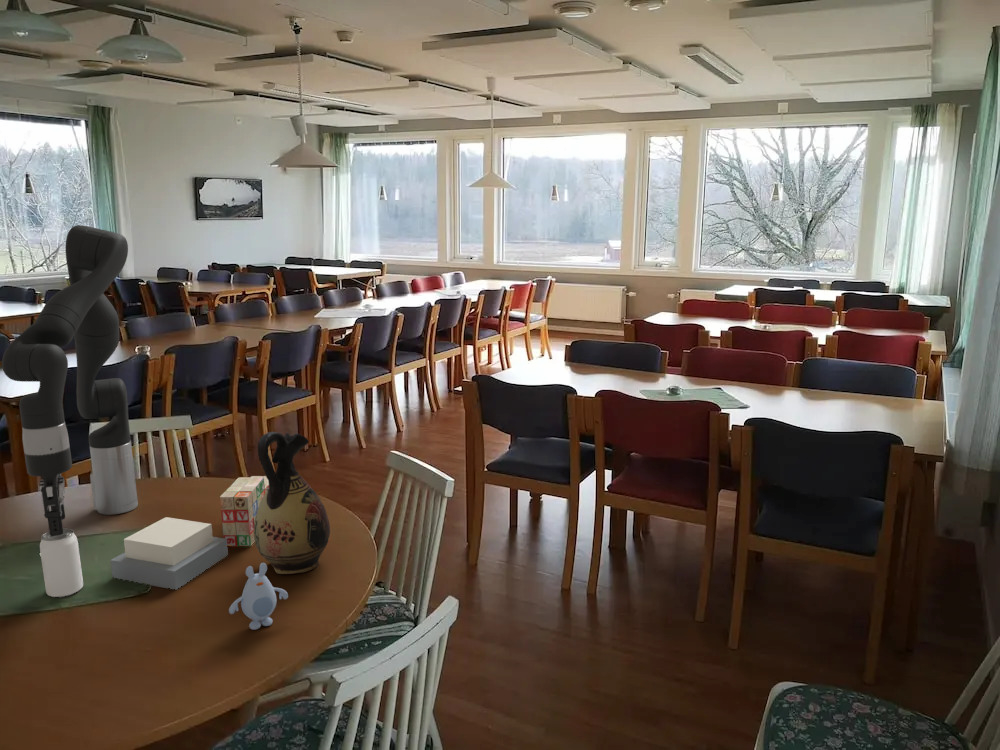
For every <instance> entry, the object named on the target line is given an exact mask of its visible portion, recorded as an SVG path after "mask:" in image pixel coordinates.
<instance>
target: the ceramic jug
mask: <svg viewBox="0 0 1000 750" xmlns="http://www.w3.org/2000/svg"><path fill="white" fill-rule="evenodd" d="M309 441H310V440H309V439H308V438H307V437H306V436H303V435H302V434H299V433H295V434H293V435H291V434H290V433H288V432H286V433H285V434H284V435H283V433H281V432H278V431H277V432H276V431H268V432H266V433H265V434H262V436H261V437H260V438H259V440H258V443H257V455H258V460H259V462H260V464H261V466H262V469H263V471H264V474H265V476H266V478H267V479H268V481H269V487H268V489H267V490H266V493H265V495H264V496H263V498H262V500H261V502H260V505H259V507H258V510H257V512H256V517H255V524H254V539H255V543H254V544H255V547H256V549H257V550H258V552H259V554H260V556H262V557H263V558H264V559H265V560H266V561H268V563H269V564H270V565H271V566H272V567H273V569H274V571H275V573H276V574H279V575H293V574H303V573H306V572H310V571H312V570H313V569H316V568H318V567H319V566H320V563H319V559H320V558H321V555H322V553H323V552H324V551H325V549H326V548H327V546H328V542H329V538H330V535H331V534H330V533H331V526H330V525H331V524H330V519H329V517H328V512H327V511H326V507H325V505H324V503H323V502H322V500H321V499H320V497H319V495H318V494H317V493H316V492H315V490H314V489H313V488H312V486H311V485H310V483H308V481H306V479H304V478H303V476H301V475H300V473H299V472H298V471H297V470H296V466H295V464H294V462H293V460H294V457H295V456H296V455H297V454H298V453H299V452H300V451H301V449H303V448H304V447H305V446H307V445H308V444H309ZM273 443H276V445H277V446H276V449H275V451H274V453H273V457H272V459H271V458H270V455H269V448H270V446H271V445H272V444H273ZM273 463H274V464H277V467H276V471H275V468H274V465H273Z"/></svg>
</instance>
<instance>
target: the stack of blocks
mask: <svg viewBox="0 0 1000 750" xmlns="http://www.w3.org/2000/svg"><path fill="white" fill-rule="evenodd" d="M268 487H269V481H268V479H267V478H266V475H263V476H262V475H251V476H250V477H248V476H247V477H242V476H241V477H237V479H236V480H235V481H234V482H233V483H232V484H231V485H230V486H229V487H228V488H227V489H226V490H225V491H224V492H223V493H222V494H221V495H220V496H219V502H220V503H219V505H220V517H221V524H222V525H221V526H222V538H225V539H227V545H232V546H241V545H242V546H251V545H252V544H253V543H254V542H255V539H254V524H255V517H256V512H257V510H258V507H259V505H260V502H261V500H262V498H263V496H264V495H265V493H266V490H267V489H268ZM254 544H255V543H254ZM254 544H253V545H254ZM253 545H252V546H253Z"/></svg>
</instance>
